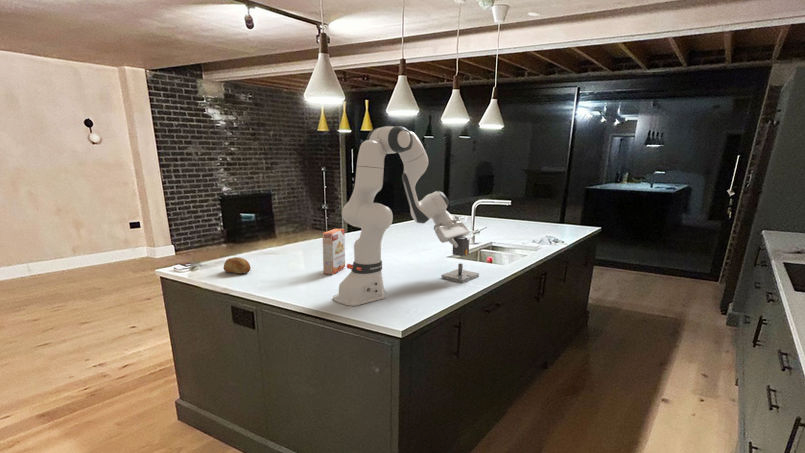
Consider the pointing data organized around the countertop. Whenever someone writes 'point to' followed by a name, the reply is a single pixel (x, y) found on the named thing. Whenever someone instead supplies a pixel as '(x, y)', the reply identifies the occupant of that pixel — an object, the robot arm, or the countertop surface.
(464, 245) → the dark grey block
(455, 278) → the hub plate
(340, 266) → the cracker box
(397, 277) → the countertop surface
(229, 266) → the bread roll
